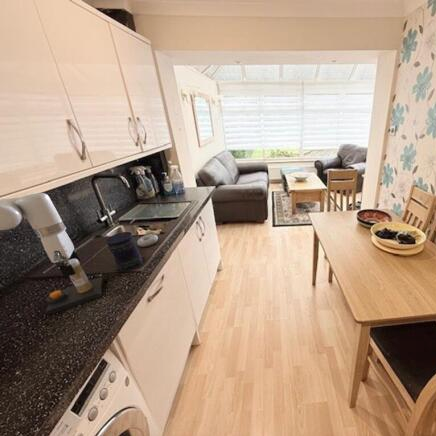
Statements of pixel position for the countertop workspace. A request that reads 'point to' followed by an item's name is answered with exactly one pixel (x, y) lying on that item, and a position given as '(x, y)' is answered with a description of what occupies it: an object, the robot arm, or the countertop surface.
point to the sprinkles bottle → (79, 277)
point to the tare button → (55, 294)
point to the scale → (74, 297)
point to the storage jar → (124, 251)
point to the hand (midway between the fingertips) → (73, 268)
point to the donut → (147, 240)
